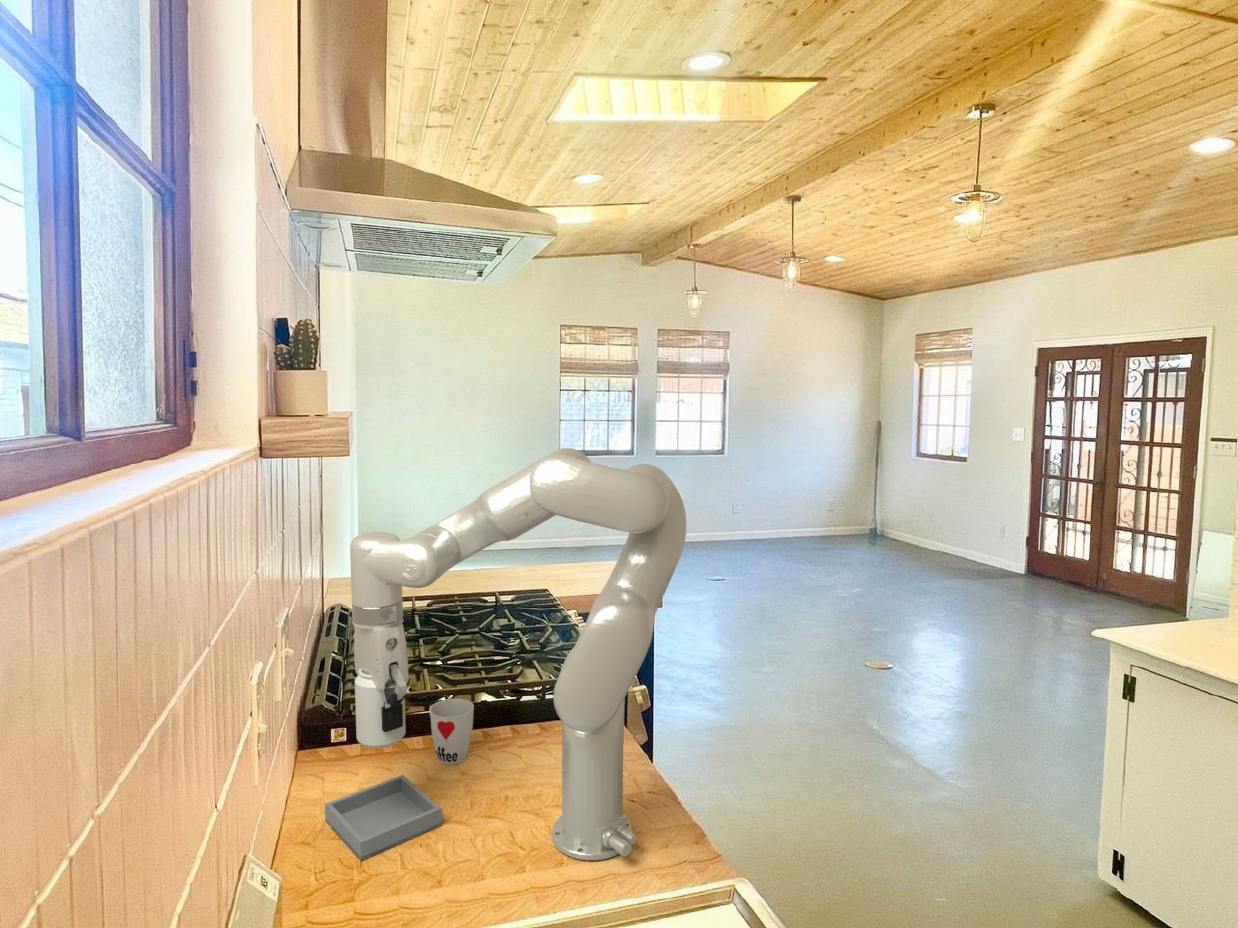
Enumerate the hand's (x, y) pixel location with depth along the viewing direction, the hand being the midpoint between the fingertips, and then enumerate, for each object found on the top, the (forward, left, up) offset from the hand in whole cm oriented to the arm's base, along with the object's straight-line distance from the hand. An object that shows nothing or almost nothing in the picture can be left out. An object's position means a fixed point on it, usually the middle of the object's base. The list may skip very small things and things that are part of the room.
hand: (380, 719), depth 119 cm
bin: (0, 0, -18) cm, 18 cm away
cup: (+11, -19, -18) cm, 28 cm away
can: (0, 0, -4) cm, 4 cm away
